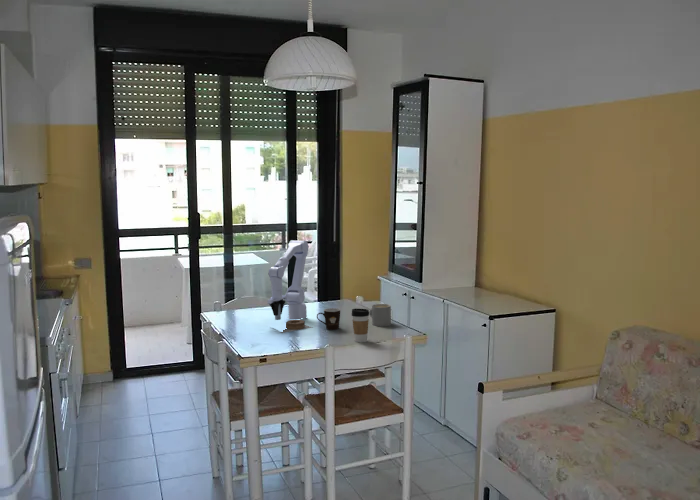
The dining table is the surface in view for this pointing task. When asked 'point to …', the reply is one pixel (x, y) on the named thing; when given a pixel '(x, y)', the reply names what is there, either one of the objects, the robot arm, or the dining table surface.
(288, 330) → the mat
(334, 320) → the coffee mug
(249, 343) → the dining table surface
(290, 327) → the faceted ring
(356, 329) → the coffee cup
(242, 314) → the dining table surface
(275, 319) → the dowel
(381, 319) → the coffee mug
